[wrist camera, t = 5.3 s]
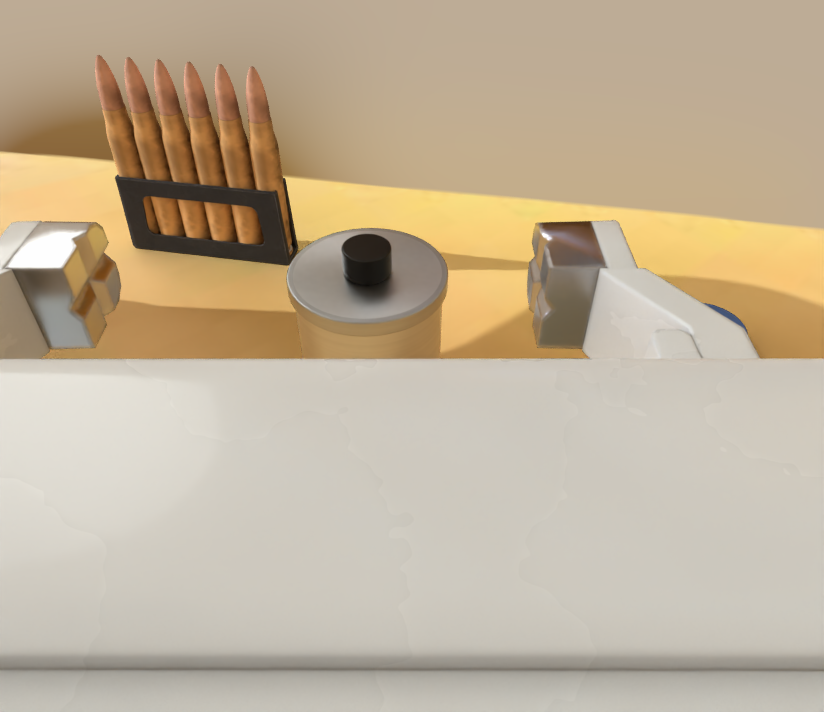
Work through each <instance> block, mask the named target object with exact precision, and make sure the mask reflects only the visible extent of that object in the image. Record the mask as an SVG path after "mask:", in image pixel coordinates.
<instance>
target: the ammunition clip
mask: <svg viewBox="0 0 824 712" xmlns="http://www.w3.org/2000/svg"><path fill="white" fill-rule="evenodd" d="M95 71H96V72H95V73H96V83H97V88H98V93H99V97H100V101H101V104H102V110H103V114H104V118H105V122H106V132H107V137H108V141H109V144H110V147H111V151H112V154H113V157H114V161H115V164H116V167H117V171H118V174H119V175H117V176H116V177H115V179H116V183H117V186H118V190H119V193H120V197H121V201H122V205H123V208H124V212H125V216H126V220H127V223H128V227H129V231H130V235H131V239H132V242H133V245H134V246H135V247H136V248H141V249H150V250H159V251H168V252H177V253H186V254H194V255H203V256H212V257H221V258H230V259H239V260H248V261H256V262H265V263H274V264H283V265H289V264H290V263H291V261H292V259H293V257H294V255H295V253H296V252H297V250H298V245H297V240H296V235H295V229H294V224H293V218H292V213H291V208H290V202H289V197H288V191H287V186H286V180H285V178H283V177H282V169H281V162H280V155H279V148H278V143H277V140H276V137H275V134H274V131H273V126H272V121H271V117H270V112H269V106H268V101H267V97H266V93H265V90H264V87H263V84H262V82H261V79H260V77H259V75H258V73H257V71H256V70H255V68H254V67H253V66H251V67H250V68H249V71H248V76H247V84H246V101H247V111H248V117H249V119H248V122H249V131H250V137H249V143H248V139H247V137H246V134H245V131H244V129H243V125H242V120H241V115H240V112H239V107H238V102H237V98H236V95H235V91H234V88H233V85H232V83H231V80H230V78H229V76H228V73H227V72H226V70H225V68H224V67H223V65H222V64H219V65H218V66H217V70H216V75H215V97H216V106H217V112H218V122H219V128H220V141H219V137H218V135H217V132H216V130H215V127H214V125H213V121H212V117H211V113H210V111H209V106H208V101H207V98H206V94H205V91H204V88H203V85H202V83H201V80H200V78H199V75H198V73H197V71H196V70H195V68H194V66H193V65H192V64H191V62H187V63H186V66H185V72H184V91H185V100H186V105H187V110H188V118H189V124H190V133H189V130H188V128H187V126H186V123H185V121H184V117H183V114H182V110H181V108H180V104H179V100H178V96H177V93H176V90H175V87H174V84H173V82H172V79H171V77H170V75H169V73H168V71H167V69H166V67H165V66H164V64H163V63H162V62H161V60H159V59H158V60H156V63H155V69H154V84H155V93H156V99H157V104H158V108H159V115H160V120H161V125H162V130H161V127H160V126H159V123H158V121H157V119H156V116H155V112H154V109H153V107H152V104H151V100H150V97H149V93H148V91H147V88H146V85H145V83H144V80H143V78H142V76H141V74H140V72H139V70H138V68H137V66H136V65H135V63H134V62H133V61H132V59H131V58H130V57H127V58H126V61H125V85H126V91H127V97H128V101H129V105H130V109H131V115H132V119H133V124H132V122H131V120H130V118H129V116H128V113H127V110H126V107H125V104H124V103H123V99H122V96H121V93H120V90H119V88H118V85H117V82H116V80H115V78H114V75H113V74H112V72H111V70H110V68H109V66H108V65H107V63H106V61H105V60H104V59H103V58H102V57H101V56H100V55H97V57H96V62H95Z"/></svg>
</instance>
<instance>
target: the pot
mask: <svg viewBox="0 0 824 712" xmlns="http://www.w3.org/2000/svg"><path fill="white" fill-rule="evenodd" d="M286 280H287V288H288V295H289V298H290V301H291V304H292V305H293V307H294V309H295V310H296V316H297V323H298V330H299V337H300V344H301V351H302V358H303V359H440V343H441V318H442V303H443V301H444V299H445V297H446V293H447V288H448V269H447V265H446V263H445V260H444V259H443V257H442V256H441V254H440V253H439V252H438V251H437V250H436V249H435V248H434V247H433V246H431V245H430V244H429V243H427V242H425V241H424V240H422V239H420V238H418V237H416V236H413V235H410V234H407V233H404V232H400V231H395V230H389V229H380V228H361V229H352V230H346V231H341V232H337V233H333V234H330V235H328V236H325V237H322V238H320V239H318V240H316V241H314V242H312V243H311V244H309V245H308V246H306V247H305V248H303V249H302V250H301V251H300V252H299V253H298V254H297V255H296V256H295V257H294V259H293V260H292V262H291V264H290V265H289V268H288V271H287V278H286Z"/></svg>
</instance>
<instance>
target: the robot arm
mask: <svg viewBox="0 0 824 712" xmlns="http://www.w3.org/2000/svg"><path fill="white" fill-rule="evenodd" d="M108 243H109V242H108V240H107V237H106V235H105V232H104V230H103V227H101V226H100V225H99V224H98V223H96V222H47V221H45V222H42V221H19V222H14V223H11V224H10V225H9V227H8V228H7V229H6V230H5V232H4V233H3V234H2V235H1V237H0V712H824V358H817V359H760V357H759V355H758V353H757V351H756V349H755V348H754V346H753V344H752V342H751V340H750V338H749V336H748V335H747V333H746V331H745V329H744V328H743V327H741V326H740V325H738V324H736V323H735V322H733V321H731V320H730V319H728V318H726V317H725V316H723V315H721V314H720V313H718V312H716V311H715V310H713V309H712V308H710V307H708V306H707V305H705V304H703V303H702V302H700V301H698V300H697V299H695V298H693V297H692V296H690V295H688V294H687V293H685V292H684V291H682V290H680V289H679V288H677V287H675V286H674V285H672V284H670V283H669V282H667V281H665V280H664V279H662V278H660V277H659V276H657V275H656V274H654V273H652V272H651V271H649V270H647V269H646V268H638V267H637V265H636V262H635V260H634V258H633V255H632V253H631V250H630V248H629V246H628V243H627V241H626V239H625V236H624V234H623V231H622V229H621V227H620V224H619V222H617V221H615V220H612V221H585V222H546V223H536V224H535V227H534V231H533V238H532V245H533V250H534V255H535V257H534V258H533V259H532V260H531V261H530V262H529V269H528V280H527V295H528V303H529V309H530V310H531V311H532V312H533V313H534V318H533V329H534V334H535V339H536V344H537V348H565V349H582V351H583V352H584V353H585V354H586V355H587V356H588V357H589V358H590V359H41V358H42V357H43V356H45V355H46V354H47V353H49V352H50V349H74V348H95V347H96V345H97V344H98V342H99V340H100V338H101V336H102V334H103V332H104V330H105V328H106V326H107V324H106V321H105V318H104V316H106V315H107V314H109V313H110V312H112V311H114V310H115V308H116V306H117V304H118V302H119V298H120V289H121V283H120V276H119V272H118V269H117V266H116V263H115V262H114V261H113V260H112V259H111V258H110V257H108V256H107V255H106V254H105V253H104V251H105V249H106V247H107V245H108Z"/></svg>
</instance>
